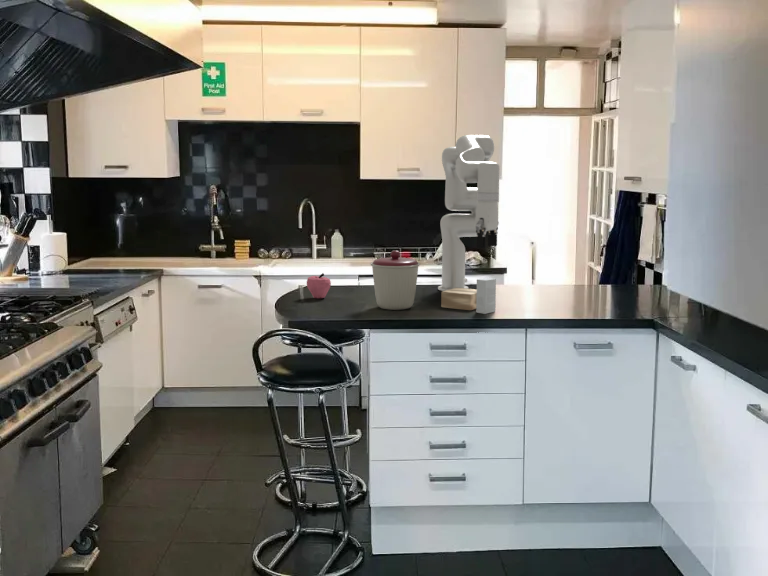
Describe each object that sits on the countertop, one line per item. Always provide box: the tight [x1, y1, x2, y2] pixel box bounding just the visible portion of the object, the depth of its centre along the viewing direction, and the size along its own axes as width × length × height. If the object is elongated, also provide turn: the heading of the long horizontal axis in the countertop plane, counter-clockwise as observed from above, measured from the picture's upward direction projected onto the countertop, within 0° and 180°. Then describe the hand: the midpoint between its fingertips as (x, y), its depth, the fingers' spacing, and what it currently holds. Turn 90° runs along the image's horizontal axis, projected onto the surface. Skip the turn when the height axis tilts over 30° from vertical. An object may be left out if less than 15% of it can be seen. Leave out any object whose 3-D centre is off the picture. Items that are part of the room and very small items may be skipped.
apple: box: [306, 272, 332, 299], centre depth 319 cm, size 10×9×10 cm
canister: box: [369, 250, 421, 311], centre depth 297 cm, size 18×18×21 cm
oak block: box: [440, 288, 477, 311], centre depth 302 cm, size 12×12×6 cm
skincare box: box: [475, 277, 497, 315], centre depth 290 cm, size 6×4×12 cm
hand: (486, 246), depth 287 cm, fingers open, 9 cm apart
